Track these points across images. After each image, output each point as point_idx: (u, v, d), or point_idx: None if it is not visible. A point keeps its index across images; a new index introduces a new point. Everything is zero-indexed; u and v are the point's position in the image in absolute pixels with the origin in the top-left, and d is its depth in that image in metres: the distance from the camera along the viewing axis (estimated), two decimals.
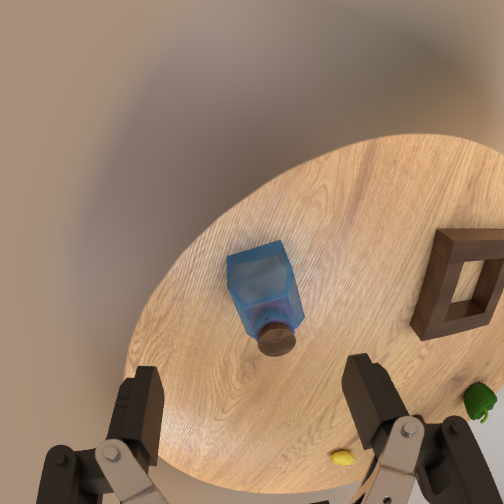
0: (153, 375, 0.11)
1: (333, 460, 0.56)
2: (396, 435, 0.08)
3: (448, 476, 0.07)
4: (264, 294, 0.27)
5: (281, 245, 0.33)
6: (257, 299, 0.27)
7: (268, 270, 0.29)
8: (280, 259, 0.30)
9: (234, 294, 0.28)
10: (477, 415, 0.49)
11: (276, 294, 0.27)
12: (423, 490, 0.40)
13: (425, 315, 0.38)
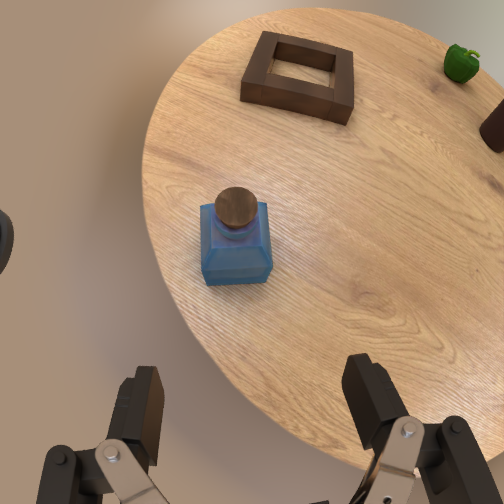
0: (153, 375, 0.11)
1: None
2: (396, 435, 0.08)
3: (448, 476, 0.07)
4: (208, 228, 0.26)
5: None
6: (209, 234, 0.25)
7: None
8: None
9: (205, 261, 0.26)
10: (473, 62, 0.43)
11: (209, 215, 0.26)
12: None
13: (325, 106, 0.38)
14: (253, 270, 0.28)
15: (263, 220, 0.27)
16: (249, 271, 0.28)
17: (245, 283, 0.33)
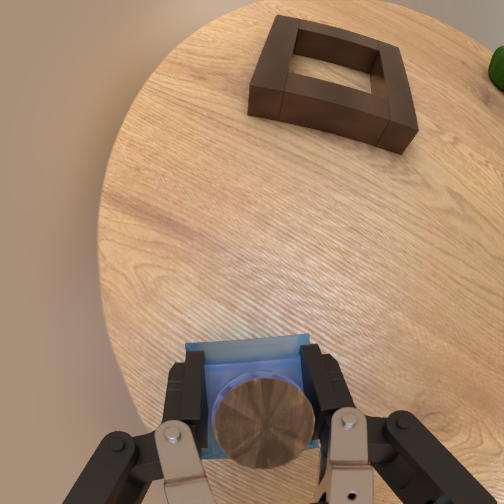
0: (203, 358, 0.12)
1: None
2: (338, 429, 0.08)
3: (408, 467, 0.08)
4: None
5: None
6: None
7: None
8: None
9: (202, 455, 0.12)
10: None
11: None
12: None
13: (377, 126, 0.25)
14: None
15: None
16: None
17: None
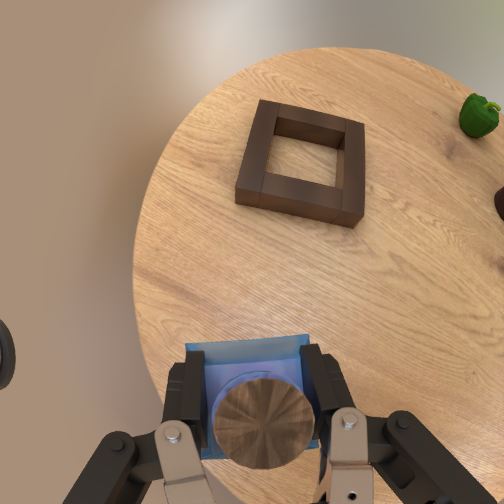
0: (203, 358, 0.12)
1: None
2: (338, 429, 0.08)
3: (408, 467, 0.08)
4: None
5: None
6: None
7: None
8: None
9: (202, 456, 0.12)
10: (492, 116, 0.41)
11: None
12: None
13: (331, 213, 0.37)
14: None
15: None
16: None
17: None
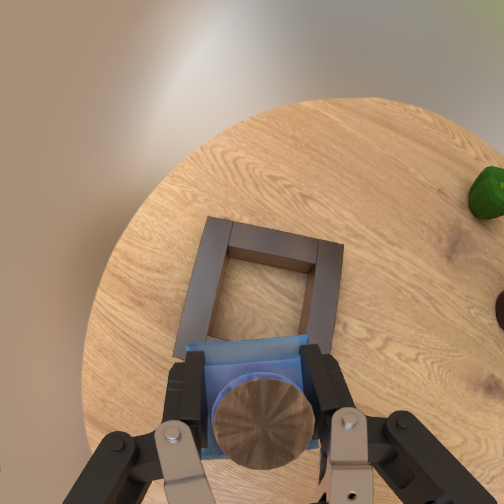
0: (203, 358, 0.12)
1: None
2: (338, 429, 0.08)
3: (408, 467, 0.08)
4: None
5: None
6: None
7: None
8: None
9: (202, 456, 0.12)
10: None
11: None
12: None
13: None
14: None
15: None
16: None
17: None
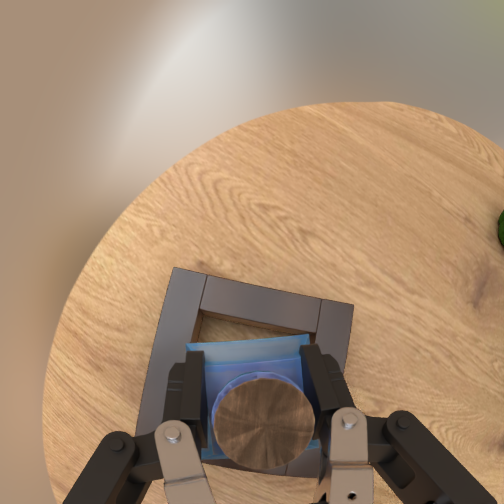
0: (203, 358, 0.12)
1: None
2: (338, 429, 0.08)
3: (408, 467, 0.08)
4: None
5: None
6: None
7: None
8: None
9: (202, 456, 0.12)
10: None
11: None
12: None
13: None
14: None
15: None
16: None
17: None
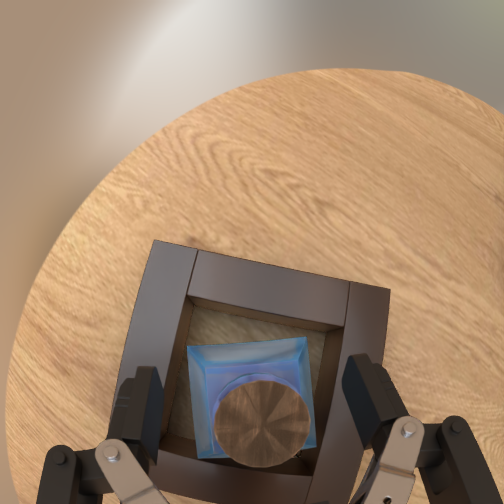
0: (153, 375, 0.11)
1: None
2: (396, 435, 0.08)
3: (448, 476, 0.07)
4: (203, 408, 0.12)
5: None
6: (206, 424, 0.12)
7: None
8: None
9: (203, 455, 0.12)
10: None
11: (203, 388, 0.12)
12: None
13: None
14: None
15: (305, 385, 0.13)
16: None
17: None
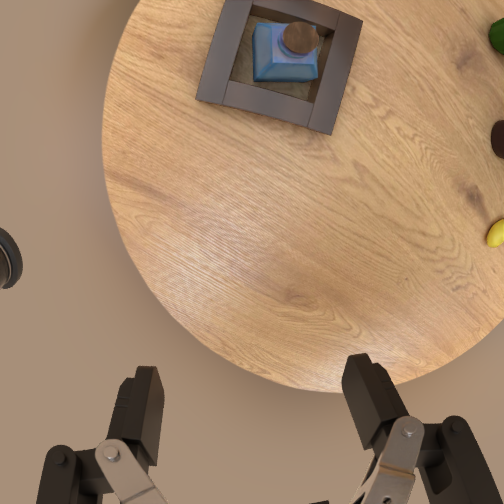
0: (153, 375, 0.11)
1: (492, 246, 0.44)
2: (396, 435, 0.08)
3: (448, 476, 0.07)
4: (267, 44, 0.25)
5: None
6: (269, 50, 0.25)
7: (257, 42, 0.26)
8: (255, 33, 0.27)
9: (264, 70, 0.26)
10: None
11: (269, 35, 0.24)
12: None
13: None
14: (300, 77, 0.29)
15: None
16: (296, 77, 0.29)
17: (287, 81, 0.33)
